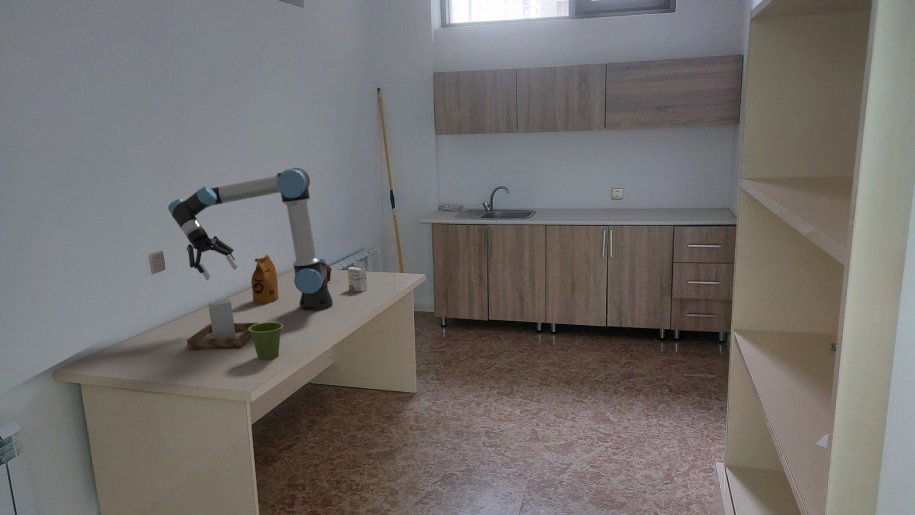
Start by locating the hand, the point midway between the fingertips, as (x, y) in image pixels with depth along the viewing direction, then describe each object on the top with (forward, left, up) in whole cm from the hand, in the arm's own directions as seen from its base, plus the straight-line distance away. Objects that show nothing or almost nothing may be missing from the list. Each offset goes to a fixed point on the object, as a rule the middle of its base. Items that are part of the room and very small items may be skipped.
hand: (222, 273), depth 254 cm
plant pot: (-31, +39, -23) cm, 55 cm away
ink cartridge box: (-45, -56, -23) cm, 75 cm away
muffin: (-21, -77, -23) cm, 83 cm away
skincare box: (-7, +20, -22) cm, 30 cm away
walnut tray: (-7, +20, -23) cm, 31 cm away
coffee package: (-3, -39, -23) cm, 46 cm away
